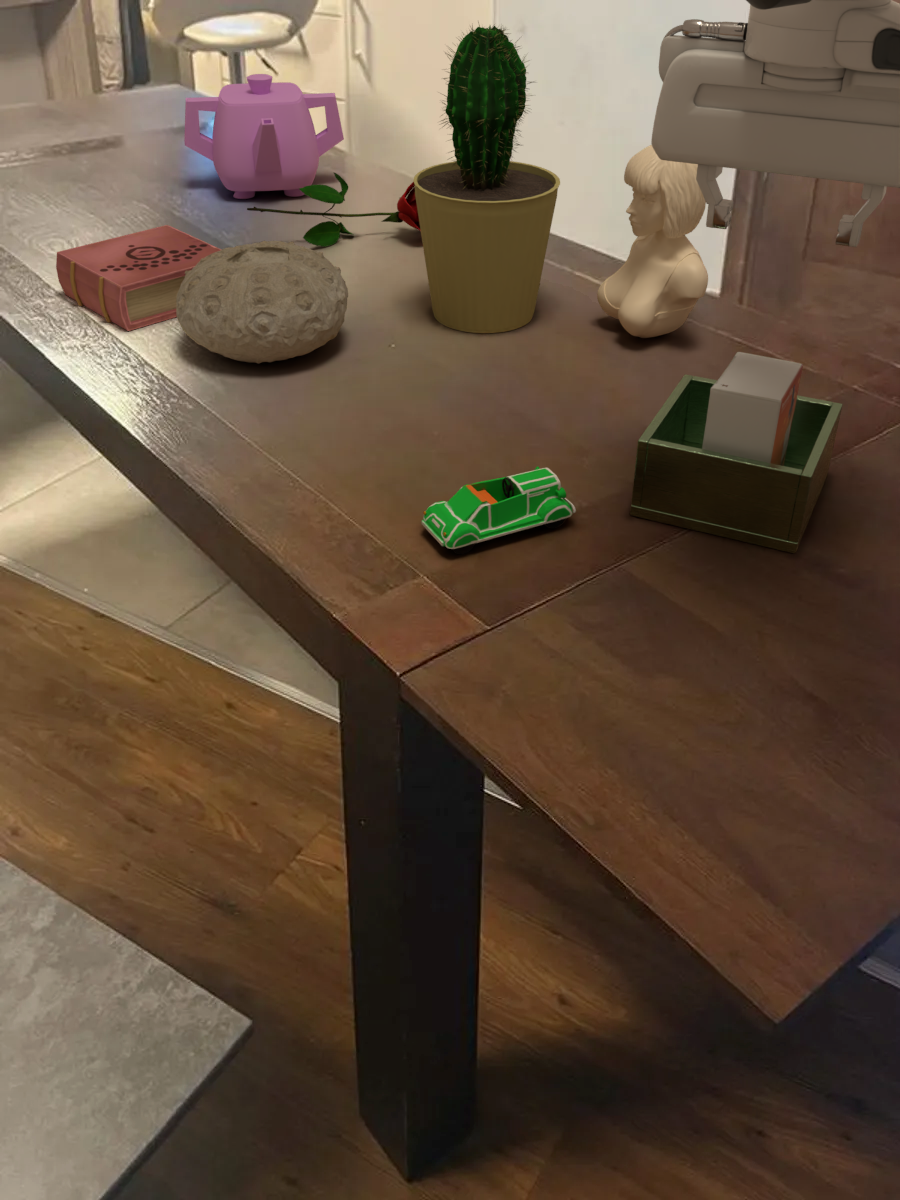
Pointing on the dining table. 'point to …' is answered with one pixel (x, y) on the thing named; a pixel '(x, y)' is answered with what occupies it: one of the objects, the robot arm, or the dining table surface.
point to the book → (131, 274)
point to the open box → (731, 473)
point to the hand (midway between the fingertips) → (781, 235)
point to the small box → (753, 408)
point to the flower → (331, 231)
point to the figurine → (658, 249)
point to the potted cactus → (485, 196)
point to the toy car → (498, 509)
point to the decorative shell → (262, 301)
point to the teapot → (263, 135)
